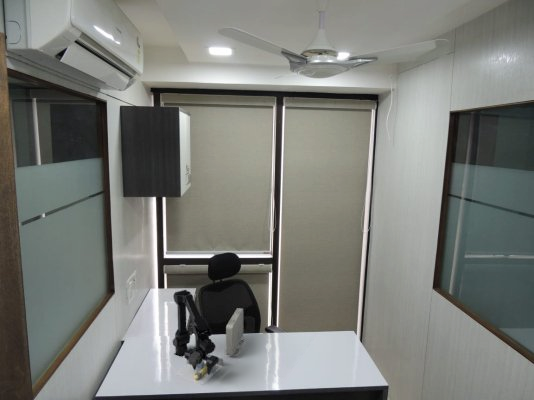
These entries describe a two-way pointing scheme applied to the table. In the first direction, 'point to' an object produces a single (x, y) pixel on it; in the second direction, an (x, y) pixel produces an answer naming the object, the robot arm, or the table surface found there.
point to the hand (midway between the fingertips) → (201, 372)
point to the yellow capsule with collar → (200, 373)
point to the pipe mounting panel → (189, 372)
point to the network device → (234, 333)
